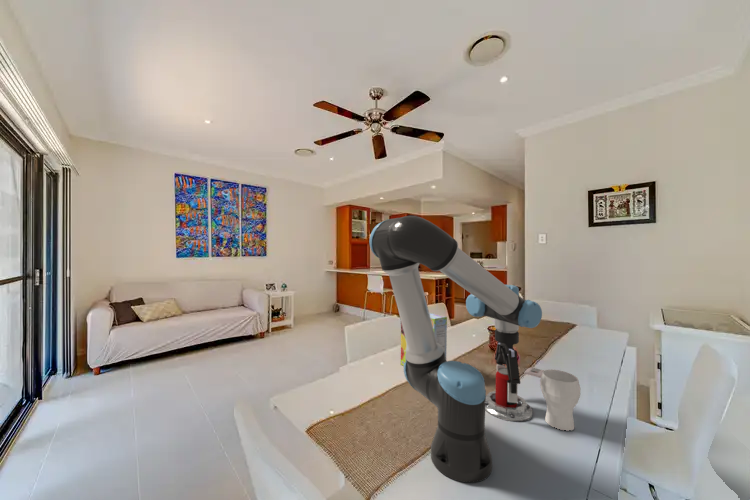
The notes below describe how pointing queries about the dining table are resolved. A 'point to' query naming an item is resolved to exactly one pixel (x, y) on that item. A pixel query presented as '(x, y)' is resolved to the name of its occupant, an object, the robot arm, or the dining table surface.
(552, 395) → the cup
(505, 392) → the beverage can
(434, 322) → the snack box
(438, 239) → the robot arm
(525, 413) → the flange
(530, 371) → the remote control
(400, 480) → the dining table surface
